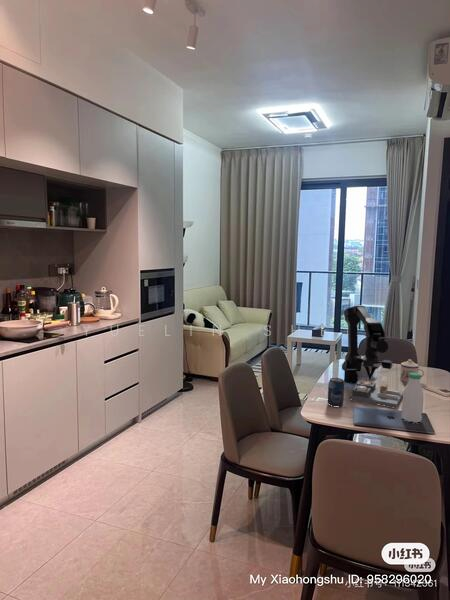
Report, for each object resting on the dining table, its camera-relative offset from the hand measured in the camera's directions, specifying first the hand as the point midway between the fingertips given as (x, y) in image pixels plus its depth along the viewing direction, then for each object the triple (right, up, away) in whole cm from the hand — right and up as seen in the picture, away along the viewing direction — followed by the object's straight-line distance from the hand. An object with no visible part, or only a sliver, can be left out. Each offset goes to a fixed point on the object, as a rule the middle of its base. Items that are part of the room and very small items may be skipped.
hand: (370, 379), depth 208 cm
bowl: (+8, -4, +39) cm, 40 cm away
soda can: (-20, -10, -12) cm, 25 cm away
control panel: (+3, -9, -1) cm, 9 cm away
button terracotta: (0, -6, +7) cm, 9 cm away
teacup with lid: (+32, -6, +27) cm, 42 cm away
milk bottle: (+8, -12, -28) cm, 32 cm away
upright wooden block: (+5, -6, -3) cm, 9 cm away
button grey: (-5, -6, -3) cm, 8 cm away
